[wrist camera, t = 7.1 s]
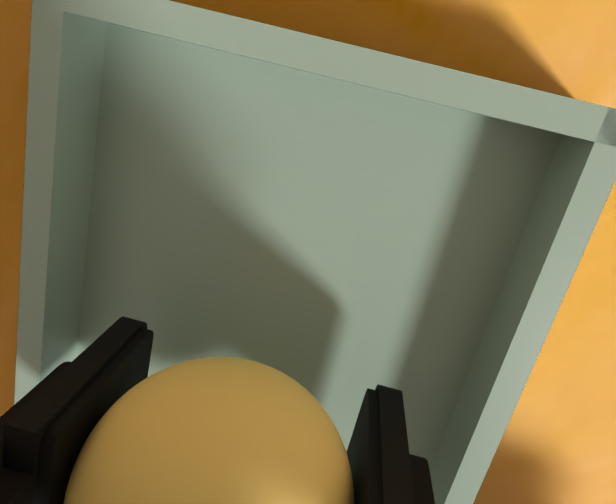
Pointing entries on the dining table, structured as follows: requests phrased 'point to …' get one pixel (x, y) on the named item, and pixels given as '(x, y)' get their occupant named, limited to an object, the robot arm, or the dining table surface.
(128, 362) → the robot arm
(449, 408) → the tray
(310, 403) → the ball
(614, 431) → the dining table surface
